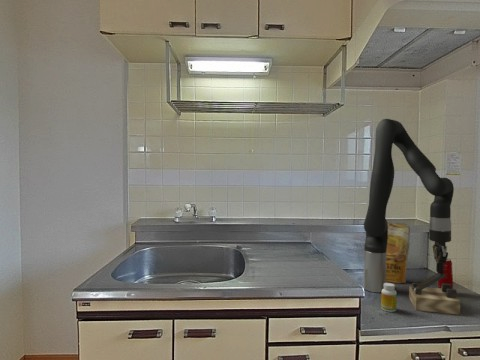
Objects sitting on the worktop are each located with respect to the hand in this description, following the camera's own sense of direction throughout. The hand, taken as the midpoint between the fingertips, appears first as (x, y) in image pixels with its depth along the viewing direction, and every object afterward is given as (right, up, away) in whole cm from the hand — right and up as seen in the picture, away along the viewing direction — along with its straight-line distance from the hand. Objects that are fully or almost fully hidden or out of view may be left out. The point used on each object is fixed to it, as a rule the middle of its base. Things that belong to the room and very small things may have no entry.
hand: (439, 272), depth 143 cm
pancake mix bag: (-8, -12, +33) cm, 36 cm away
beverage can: (+10, -13, +15) cm, 23 cm away
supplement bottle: (-21, -14, -3) cm, 26 cm away
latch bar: (-3, -4, +1) cm, 6 cm away
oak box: (-2, -13, +1) cm, 14 cm away
